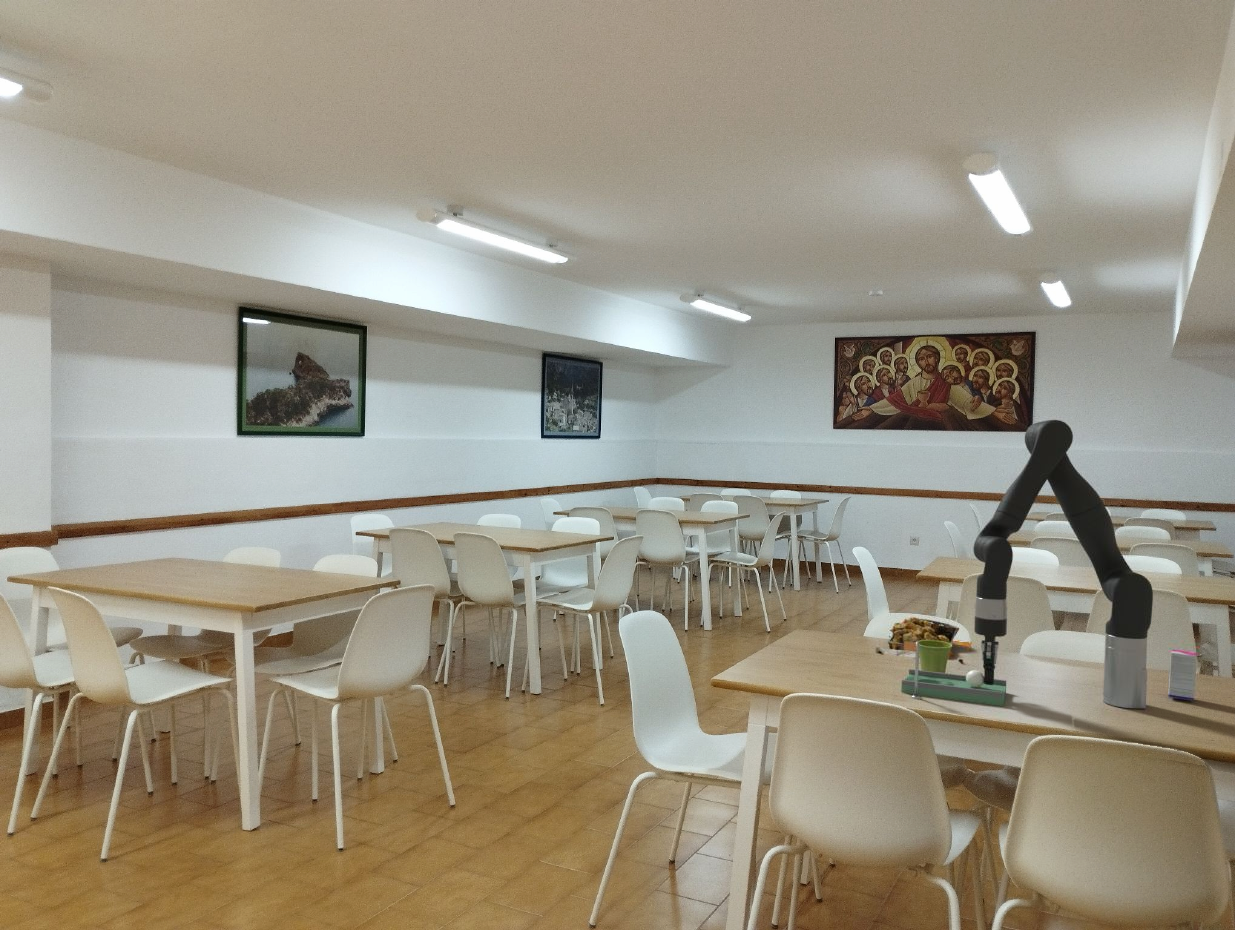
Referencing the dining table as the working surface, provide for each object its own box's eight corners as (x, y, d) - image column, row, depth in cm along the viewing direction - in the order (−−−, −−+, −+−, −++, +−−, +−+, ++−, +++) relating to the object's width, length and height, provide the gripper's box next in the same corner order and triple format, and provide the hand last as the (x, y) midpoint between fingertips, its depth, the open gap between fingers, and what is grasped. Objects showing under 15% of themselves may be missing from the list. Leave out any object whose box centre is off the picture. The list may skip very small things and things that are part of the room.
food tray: (891, 636, 315) (892, 604, 315) (972, 644, 304) (973, 611, 304) (873, 656, 283) (874, 621, 283) (963, 666, 273) (964, 630, 272)
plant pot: (953, 680, 253) (954, 648, 253) (917, 677, 255) (918, 646, 255) (948, 672, 262) (949, 641, 262) (913, 669, 264) (914, 639, 264)
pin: (921, 697, 234) (923, 642, 234) (920, 700, 232) (922, 643, 232) (903, 695, 236) (905, 640, 236) (901, 697, 234) (903, 641, 234)
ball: (987, 682, 238) (980, 666, 239) (986, 686, 234) (979, 669, 235) (970, 688, 240) (963, 671, 241) (969, 691, 236) (962, 674, 237)
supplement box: (1195, 700, 238) (1196, 655, 237) (1167, 697, 241) (1169, 652, 240) (1195, 695, 242) (1196, 651, 242) (1168, 692, 246) (1170, 648, 245)
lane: (1006, 692, 241) (1006, 680, 241) (1003, 706, 228) (1003, 693, 228) (908, 680, 251) (909, 668, 251) (901, 693, 238) (901, 680, 238)
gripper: (1005, 621, 228) (1003, 692, 229) (1007, 612, 240) (1006, 680, 241) (973, 618, 231) (971, 688, 232) (976, 610, 243) (974, 676, 244)
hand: (988, 684), depth 236 cm, fingers closed
